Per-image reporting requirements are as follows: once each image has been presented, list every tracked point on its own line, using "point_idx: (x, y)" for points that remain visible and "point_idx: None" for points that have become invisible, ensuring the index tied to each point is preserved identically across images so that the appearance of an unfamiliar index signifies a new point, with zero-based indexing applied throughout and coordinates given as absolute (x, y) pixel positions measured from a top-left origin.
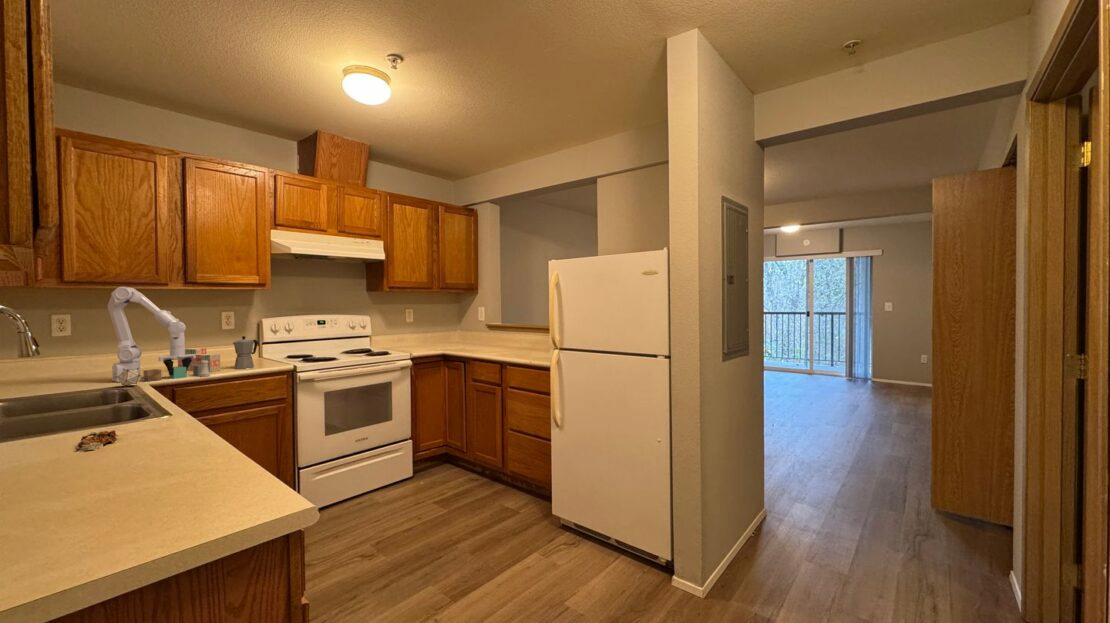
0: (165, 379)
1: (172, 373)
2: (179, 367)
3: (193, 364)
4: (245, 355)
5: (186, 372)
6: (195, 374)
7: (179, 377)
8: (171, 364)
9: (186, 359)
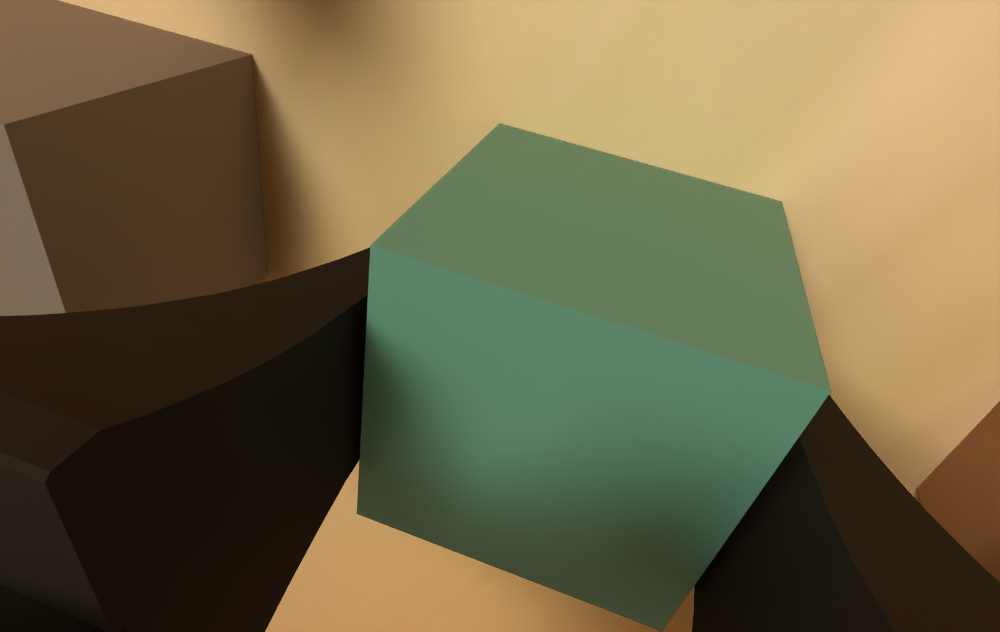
0: (943, 300)
1: None
2: (545, 392)
3: None
4: None
5: None
6: (247, 201)
7: (654, 173)
8: (961, 626)
9: (61, 511)
